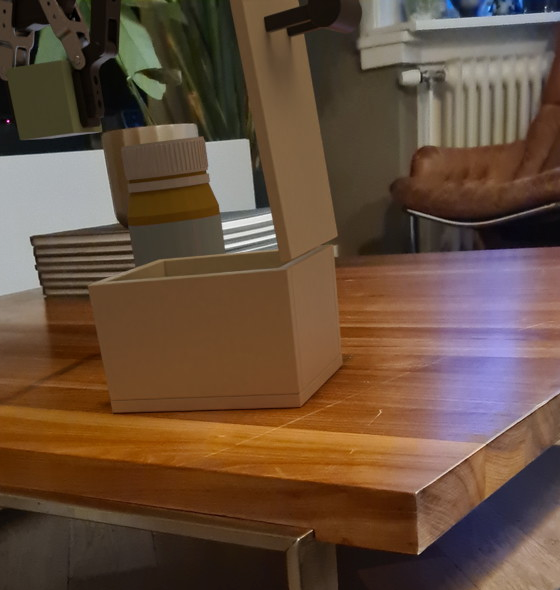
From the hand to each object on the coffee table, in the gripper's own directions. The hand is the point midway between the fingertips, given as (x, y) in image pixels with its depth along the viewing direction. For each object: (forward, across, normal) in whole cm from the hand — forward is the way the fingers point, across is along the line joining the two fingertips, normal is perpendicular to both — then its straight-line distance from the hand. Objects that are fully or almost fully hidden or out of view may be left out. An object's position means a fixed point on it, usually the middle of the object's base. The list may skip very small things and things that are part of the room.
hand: (60, 130), depth 72 cm
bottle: (+17, -10, +4) cm, 20 cm away
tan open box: (+17, -18, +16) cm, 30 cm away
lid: (+2, -23, +16) cm, 29 cm away
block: (0, 0, 0) cm, 0 cm away
